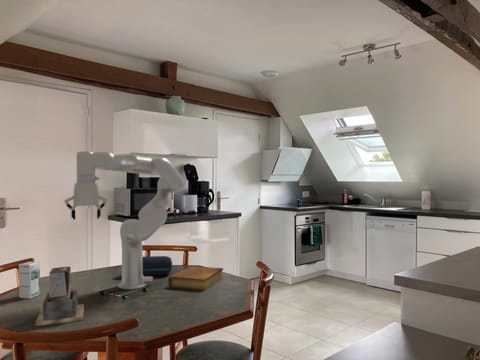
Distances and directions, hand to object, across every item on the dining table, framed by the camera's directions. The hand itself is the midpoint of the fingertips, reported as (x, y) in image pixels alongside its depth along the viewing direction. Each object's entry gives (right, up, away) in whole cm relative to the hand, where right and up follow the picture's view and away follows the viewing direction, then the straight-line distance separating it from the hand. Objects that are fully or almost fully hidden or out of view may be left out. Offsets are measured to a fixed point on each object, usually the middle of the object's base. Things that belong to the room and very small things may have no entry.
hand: (86, 219), depth 164 cm
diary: (+46, -34, +20) cm, 61 cm away
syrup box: (-24, -34, -1) cm, 41 cm away
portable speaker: (+18, -34, +35) cm, 52 cm away
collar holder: (+1, -33, -25) cm, 42 cm away
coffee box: (+1, -32, -26) cm, 41 cm away
